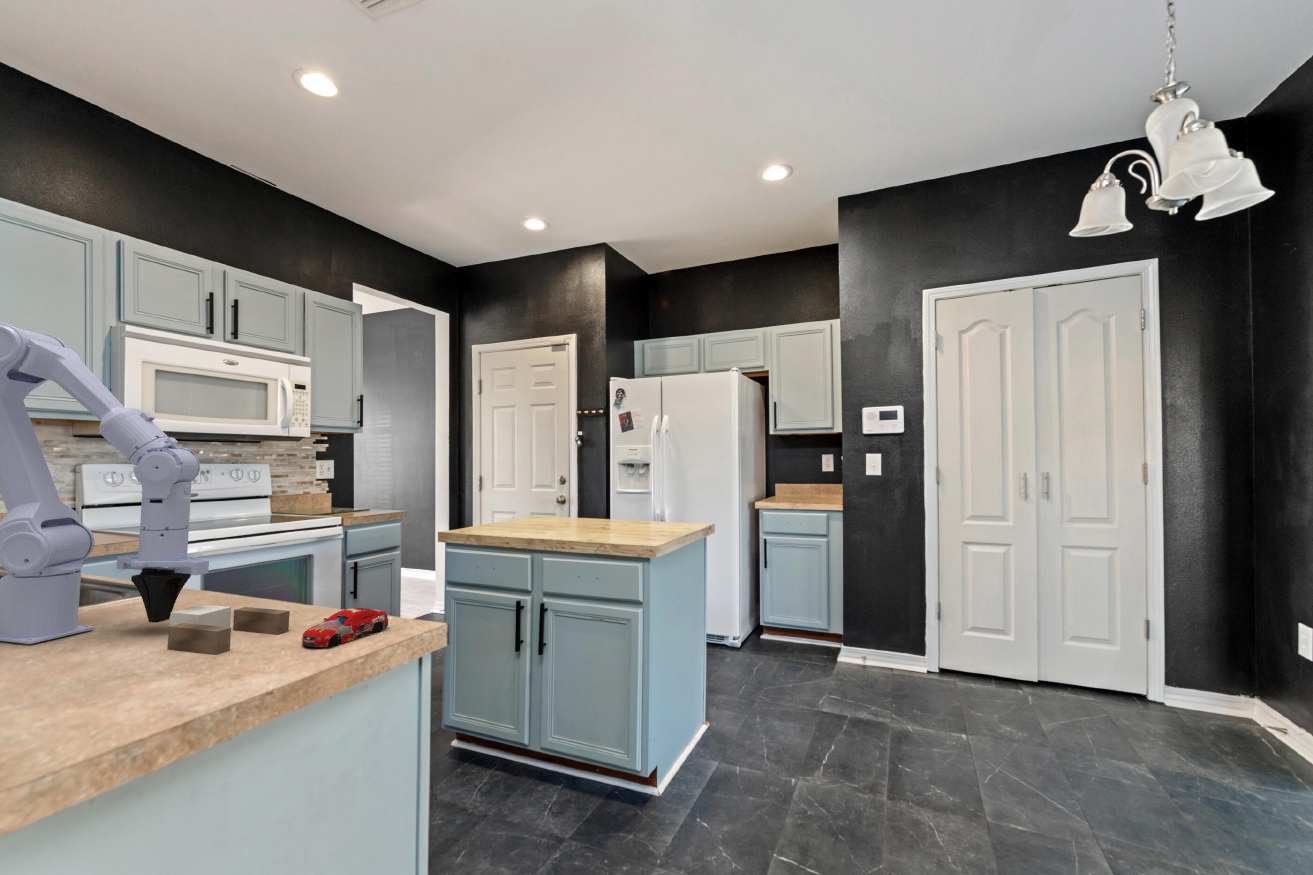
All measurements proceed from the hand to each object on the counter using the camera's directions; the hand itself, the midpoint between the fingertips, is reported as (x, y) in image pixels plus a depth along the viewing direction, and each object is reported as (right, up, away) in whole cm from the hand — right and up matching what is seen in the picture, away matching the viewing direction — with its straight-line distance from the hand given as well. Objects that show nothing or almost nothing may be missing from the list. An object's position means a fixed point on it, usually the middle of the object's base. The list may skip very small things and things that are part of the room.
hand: (159, 620), depth 90 cm
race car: (+28, -3, 0) cm, 28 cm away
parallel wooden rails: (+13, -2, -3) cm, 13 cm away
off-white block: (+7, -2, -2) cm, 8 cm away
